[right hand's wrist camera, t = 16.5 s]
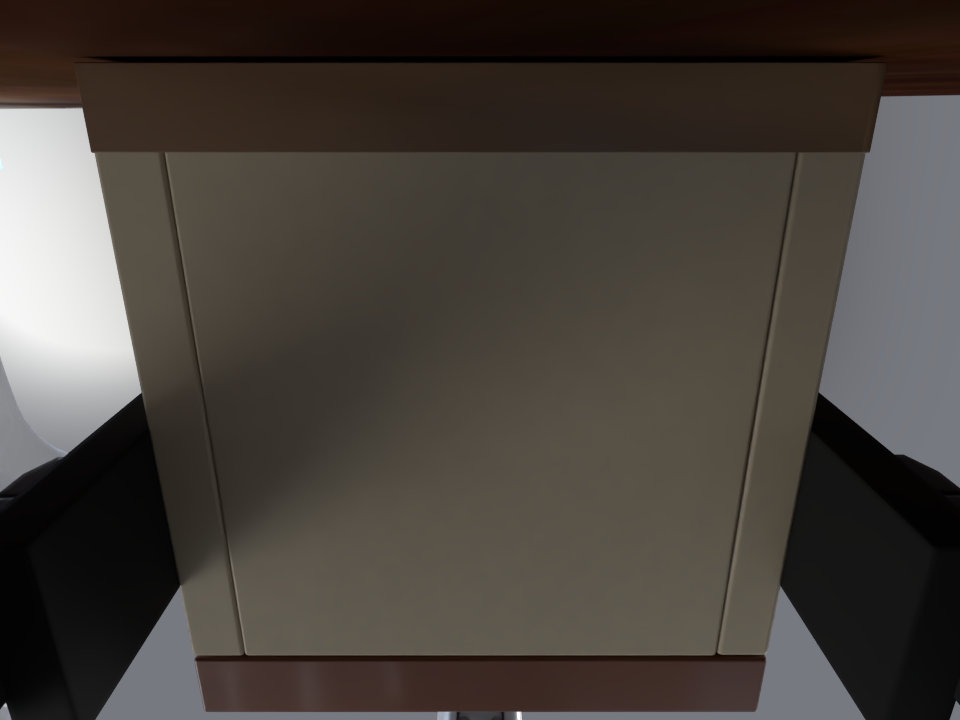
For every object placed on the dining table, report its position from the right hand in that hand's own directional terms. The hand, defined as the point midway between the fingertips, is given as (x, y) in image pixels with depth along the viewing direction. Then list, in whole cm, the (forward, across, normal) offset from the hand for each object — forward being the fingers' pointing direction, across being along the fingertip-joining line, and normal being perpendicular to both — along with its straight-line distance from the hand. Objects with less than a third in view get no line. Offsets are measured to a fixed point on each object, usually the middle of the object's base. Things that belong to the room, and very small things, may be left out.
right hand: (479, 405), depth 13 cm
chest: (+3, 0, +6) cm, 7 cm away
